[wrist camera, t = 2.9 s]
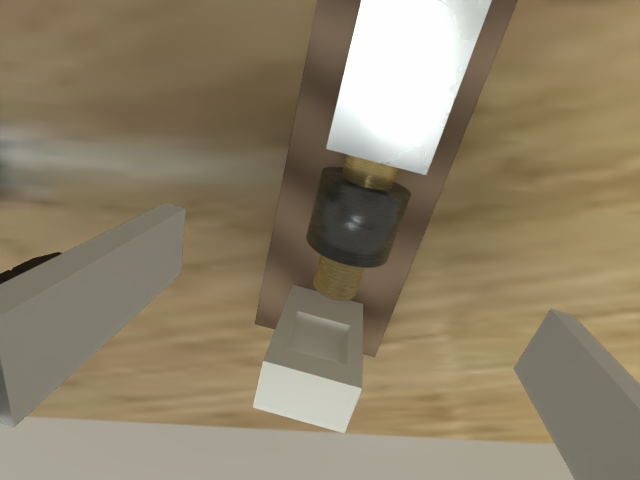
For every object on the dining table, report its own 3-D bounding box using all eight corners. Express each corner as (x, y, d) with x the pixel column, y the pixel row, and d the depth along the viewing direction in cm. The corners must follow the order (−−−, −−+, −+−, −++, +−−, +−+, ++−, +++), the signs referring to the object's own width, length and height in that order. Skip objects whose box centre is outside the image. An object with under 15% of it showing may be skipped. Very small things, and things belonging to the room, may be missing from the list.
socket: (295, 277, 29) (263, 360, 20) (363, 296, 29) (362, 388, 19) (286, 314, 30) (252, 407, 21) (350, 332, 30) (344, 433, 21)
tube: (388, -88, 16) (397, -164, 11) (491, -62, 16) (543, -129, 11) (303, 259, 23) (288, 298, 19) (372, 278, 23) (373, 321, 19)
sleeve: (378, -29, 19) (386, -104, 12) (461, -8, 19) (518, -71, 12) (338, 133, 23) (326, 148, 16) (407, 151, 22) (426, 175, 15)
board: (330, -44, 20) (327, -53, 19) (510, 1, 20) (519, -5, 19) (258, 315, 31) (254, 323, 30) (374, 348, 31) (374, 357, 30)
